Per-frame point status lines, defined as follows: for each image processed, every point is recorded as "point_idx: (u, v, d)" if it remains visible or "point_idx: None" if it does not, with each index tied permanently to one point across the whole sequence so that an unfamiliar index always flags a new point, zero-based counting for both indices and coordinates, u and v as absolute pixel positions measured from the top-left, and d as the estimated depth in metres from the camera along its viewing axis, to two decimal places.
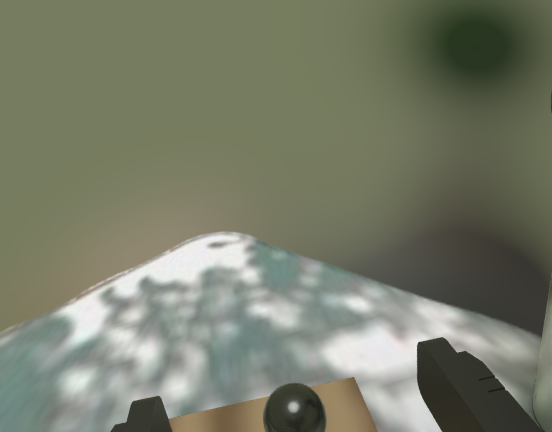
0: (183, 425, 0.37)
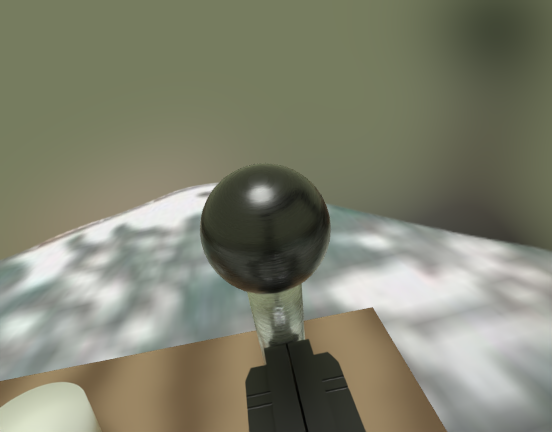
0: (133, 365, 0.26)
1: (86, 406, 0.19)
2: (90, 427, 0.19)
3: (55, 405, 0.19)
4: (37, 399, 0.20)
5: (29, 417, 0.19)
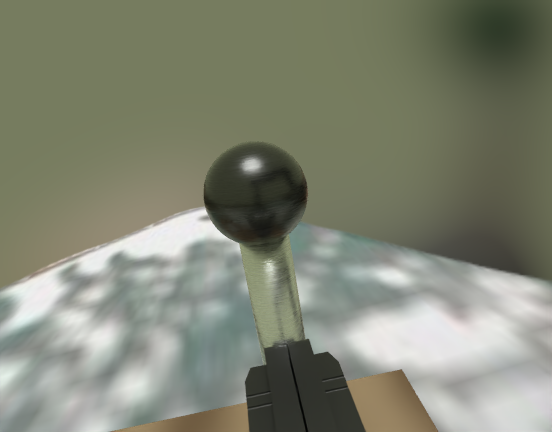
0: None
1: None
2: None
3: None
4: None
5: None
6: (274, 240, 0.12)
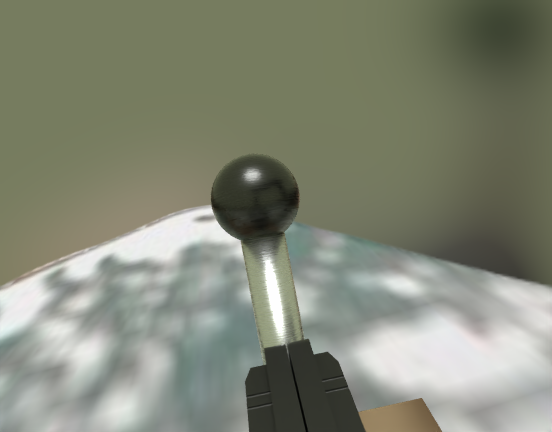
0: None
1: None
2: None
3: None
4: None
5: None
6: (270, 231, 0.14)
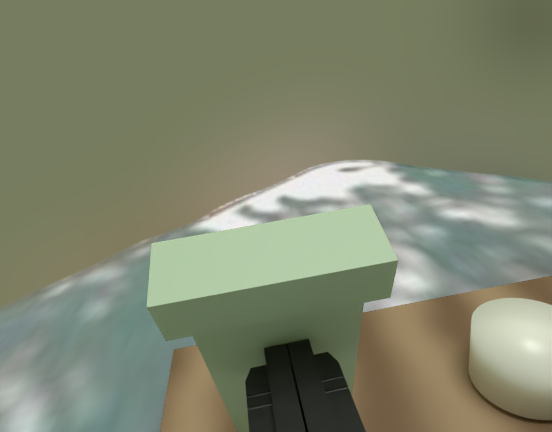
0: (486, 299, 0.27)
1: None
2: None
3: (533, 314, 0.20)
4: (503, 310, 0.21)
5: (519, 323, 0.20)
6: None
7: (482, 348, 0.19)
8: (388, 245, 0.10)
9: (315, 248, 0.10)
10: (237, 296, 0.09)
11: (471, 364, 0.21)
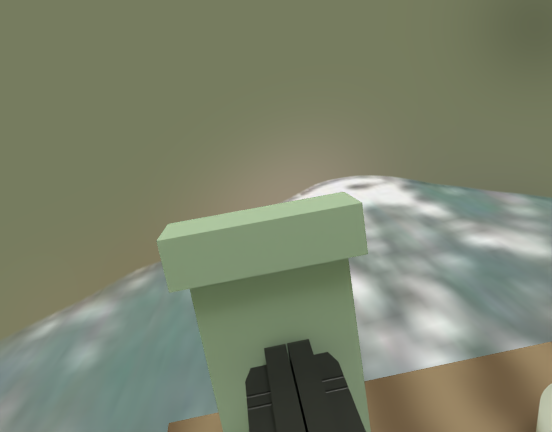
0: (538, 360, 0.23)
1: None
2: None
3: None
4: None
5: None
6: None
7: None
8: (355, 200, 0.12)
9: (296, 208, 0.12)
10: (230, 235, 0.11)
11: None
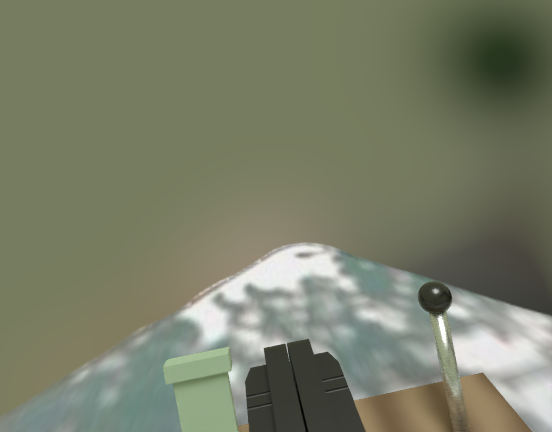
0: None
1: None
2: None
3: None
4: None
5: None
6: (444, 311, 0.39)
7: None
8: (227, 352, 0.37)
9: (209, 354, 0.37)
10: (186, 365, 0.37)
11: None
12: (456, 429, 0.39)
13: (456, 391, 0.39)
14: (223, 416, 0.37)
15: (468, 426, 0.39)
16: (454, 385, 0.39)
